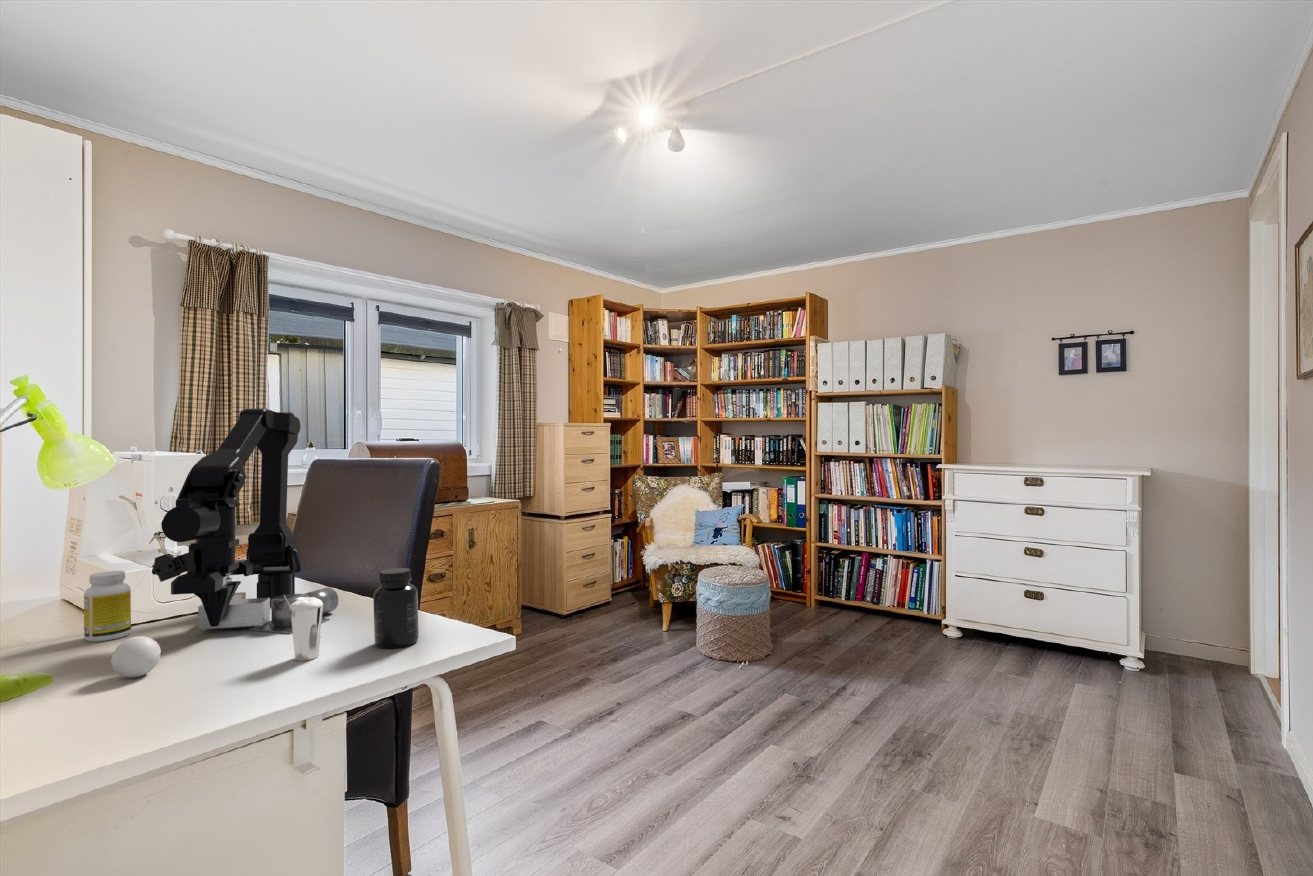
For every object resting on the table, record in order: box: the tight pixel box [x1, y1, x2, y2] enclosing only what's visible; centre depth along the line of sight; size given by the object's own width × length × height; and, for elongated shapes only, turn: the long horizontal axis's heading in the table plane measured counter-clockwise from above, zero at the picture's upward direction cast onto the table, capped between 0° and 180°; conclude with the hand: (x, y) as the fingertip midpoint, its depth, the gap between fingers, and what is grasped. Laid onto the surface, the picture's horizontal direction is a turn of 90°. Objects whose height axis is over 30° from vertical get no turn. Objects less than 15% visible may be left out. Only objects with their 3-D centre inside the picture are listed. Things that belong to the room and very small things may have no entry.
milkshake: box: [284, 595, 323, 662], centre depth 100 cm, size 4×5×10 cm
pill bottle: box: [83, 570, 132, 643], centre depth 112 cm, size 6×6×11 cm
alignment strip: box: [229, 620, 271, 629], centre depth 119 cm, size 10×4×1 cm, turn 89°
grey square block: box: [197, 591, 271, 630], centre depth 119 cm, size 10×10×4 cm
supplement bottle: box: [372, 567, 420, 650], centre depth 107 cm, size 7×7×12 cm
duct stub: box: [249, 586, 339, 635], centre depth 121 cm, size 14×9×5 cm, turn 164°
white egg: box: [110, 635, 163, 679], centre depth 94 cm, size 8×6×6 cm
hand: (214, 626), depth 112 cm, fingers closed
